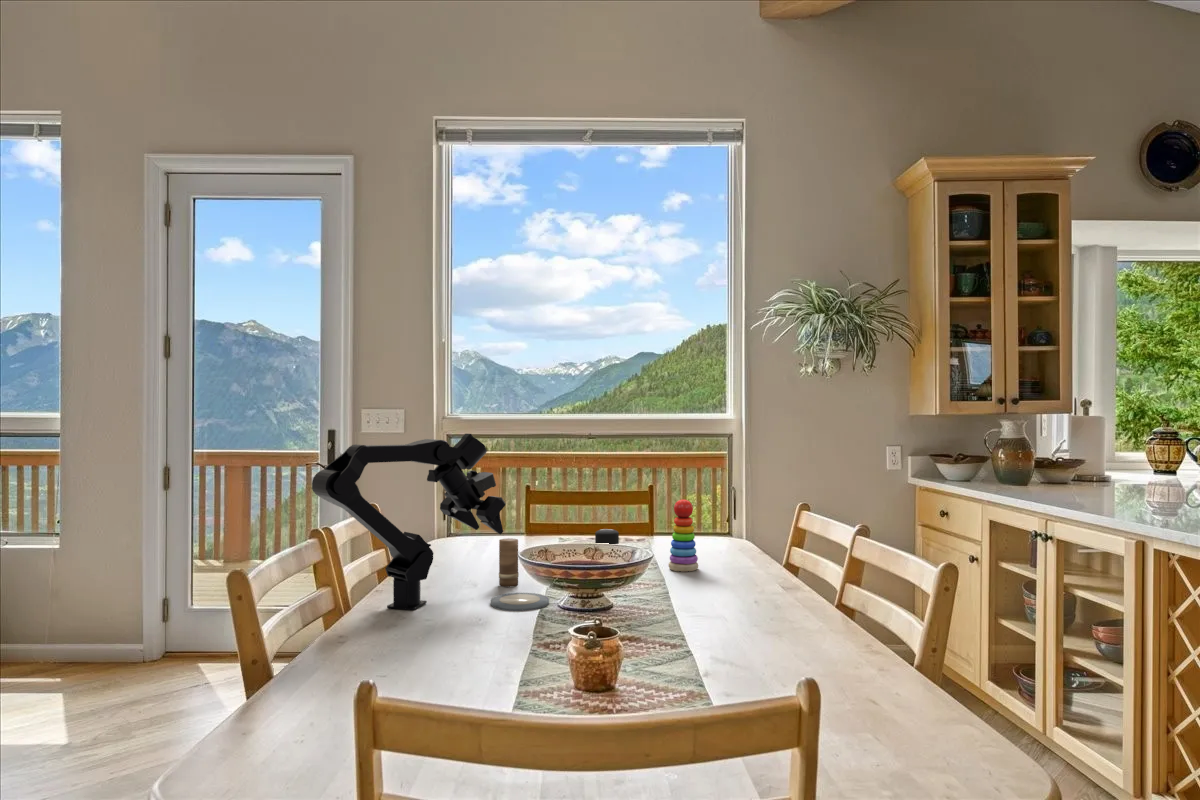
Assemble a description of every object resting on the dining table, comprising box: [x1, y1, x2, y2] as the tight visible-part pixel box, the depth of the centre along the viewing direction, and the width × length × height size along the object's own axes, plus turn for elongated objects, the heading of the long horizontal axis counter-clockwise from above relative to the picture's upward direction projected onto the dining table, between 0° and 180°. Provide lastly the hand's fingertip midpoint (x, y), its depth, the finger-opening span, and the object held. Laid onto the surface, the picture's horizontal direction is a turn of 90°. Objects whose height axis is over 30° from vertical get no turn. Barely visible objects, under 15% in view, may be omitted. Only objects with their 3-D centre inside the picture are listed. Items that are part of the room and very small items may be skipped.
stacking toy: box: [668, 499, 699, 573], centre depth 217 cm, size 8×8×19 cm
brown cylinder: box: [498, 537, 520, 588], centre depth 199 cm, size 5×5×11 cm
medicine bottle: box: [594, 528, 620, 545], centre depth 207 cm, size 7×7×12 cm
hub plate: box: [489, 592, 550, 612], centre depth 181 cm, size 13×13×1 cm
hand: (489, 530), depth 194 cm, fingers open, 9 cm apart
